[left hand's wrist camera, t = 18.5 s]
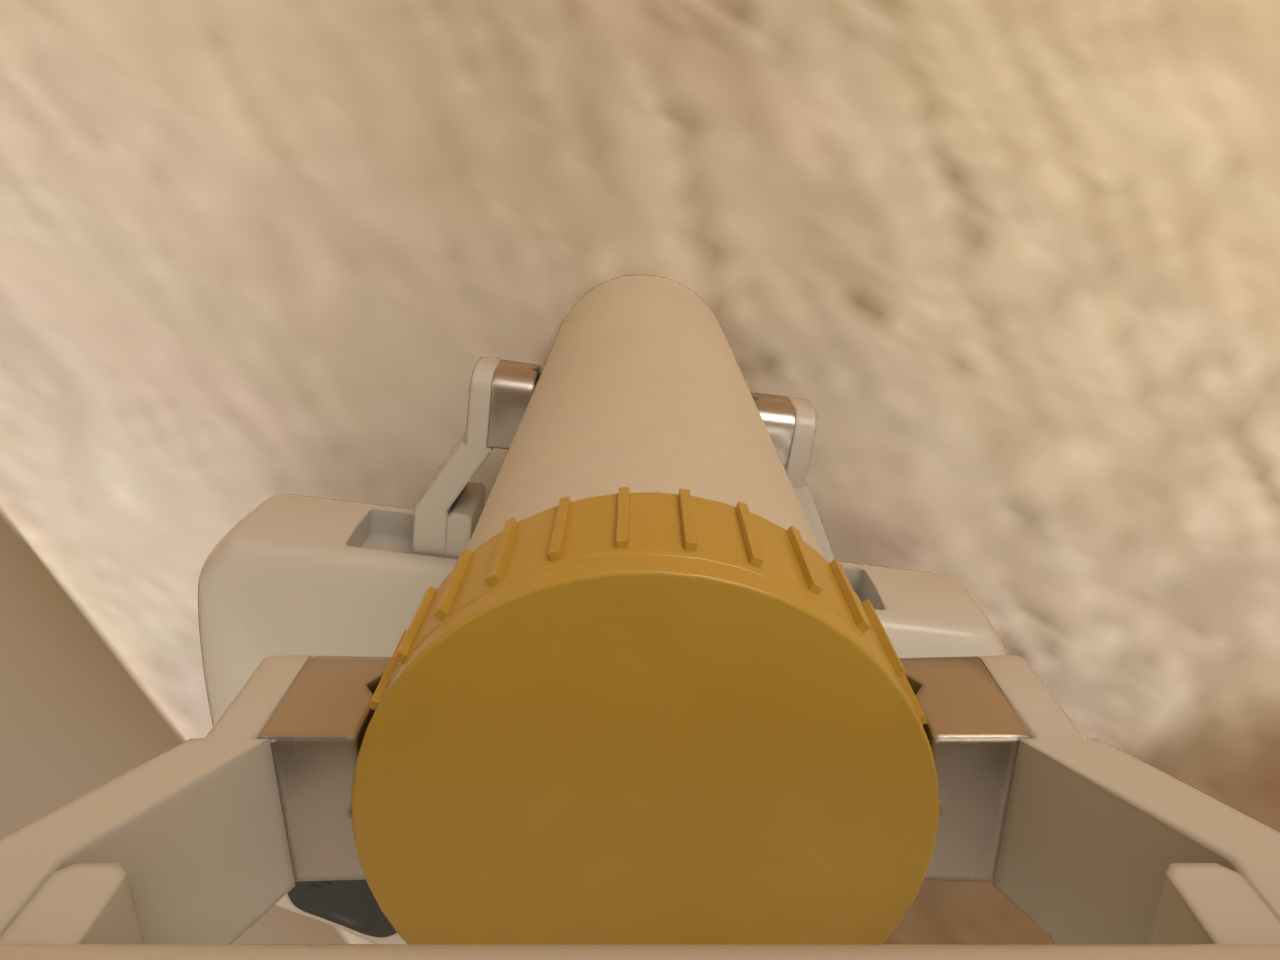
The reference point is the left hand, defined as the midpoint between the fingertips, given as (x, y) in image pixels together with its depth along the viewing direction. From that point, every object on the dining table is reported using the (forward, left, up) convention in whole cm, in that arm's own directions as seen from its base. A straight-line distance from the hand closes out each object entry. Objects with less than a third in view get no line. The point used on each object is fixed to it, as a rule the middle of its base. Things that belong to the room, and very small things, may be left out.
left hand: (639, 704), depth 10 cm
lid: (0, 0, +2) cm, 2 cm away
